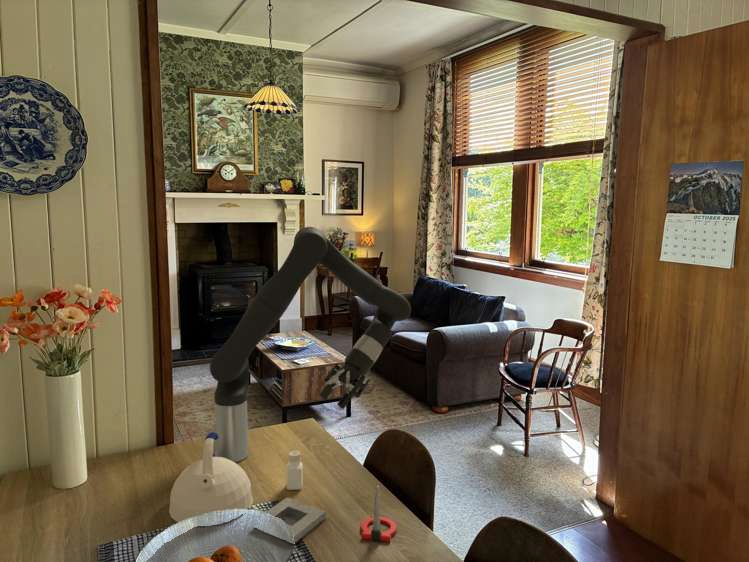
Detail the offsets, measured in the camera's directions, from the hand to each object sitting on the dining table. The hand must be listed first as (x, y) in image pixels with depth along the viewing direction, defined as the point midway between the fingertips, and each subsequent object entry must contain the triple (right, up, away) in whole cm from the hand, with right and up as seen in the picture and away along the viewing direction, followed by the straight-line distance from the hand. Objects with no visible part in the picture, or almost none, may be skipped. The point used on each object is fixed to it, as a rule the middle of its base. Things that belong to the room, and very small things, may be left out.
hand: (331, 402), depth 155 cm
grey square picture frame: (-8, -24, -21) cm, 33 cm away
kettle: (-29, -23, -13) cm, 39 cm away
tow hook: (+13, -25, -23) cm, 36 cm away
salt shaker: (-9, -22, -4) cm, 24 cm away
